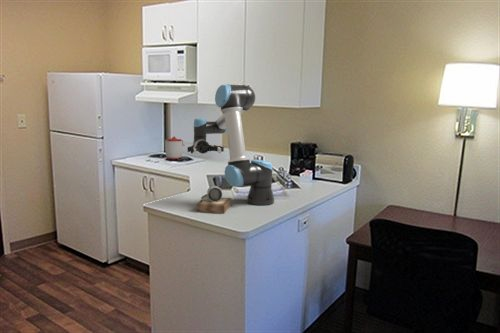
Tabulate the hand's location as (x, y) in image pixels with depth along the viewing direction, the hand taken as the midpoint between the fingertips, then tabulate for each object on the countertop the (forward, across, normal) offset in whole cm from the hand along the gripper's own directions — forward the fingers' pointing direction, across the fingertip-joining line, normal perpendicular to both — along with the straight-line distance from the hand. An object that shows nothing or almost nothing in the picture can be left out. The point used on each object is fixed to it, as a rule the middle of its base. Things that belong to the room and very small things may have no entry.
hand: (208, 151), depth 222 cm
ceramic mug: (+15, 0, -24) cm, 28 cm away
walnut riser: (+15, -1, -28) cm, 32 cm away
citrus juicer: (-141, +6, -26) cm, 144 cm away
